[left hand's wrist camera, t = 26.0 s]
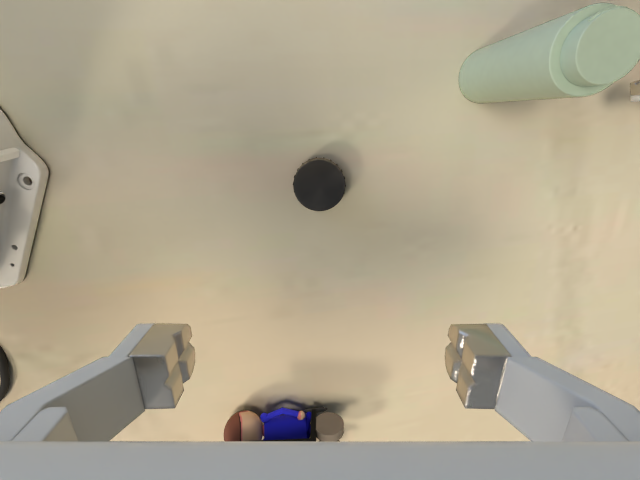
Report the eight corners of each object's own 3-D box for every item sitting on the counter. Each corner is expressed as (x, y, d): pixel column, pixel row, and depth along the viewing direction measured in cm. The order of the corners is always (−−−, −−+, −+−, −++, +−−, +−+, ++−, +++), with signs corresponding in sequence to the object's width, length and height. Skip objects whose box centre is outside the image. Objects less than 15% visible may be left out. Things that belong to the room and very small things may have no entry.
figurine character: (337, 387, 45) (223, 398, 44) (348, 437, 38) (213, 453, 37) (337, 424, 48) (229, 436, 46) (347, 477, 41) (220, 494, 39)
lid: (293, 156, 34) (292, 158, 32) (346, 157, 34) (347, 159, 32) (293, 206, 35) (292, 210, 34) (343, 208, 35) (344, 212, 34)
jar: (518, 79, 31) (671, 54, 18) (474, 113, 32) (587, 114, 19) (493, 35, 30) (638, -30, 16) (448, 72, 31) (550, 40, 17)
